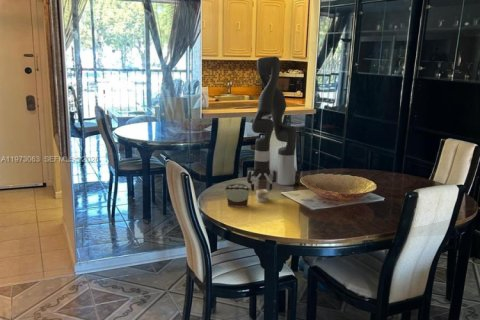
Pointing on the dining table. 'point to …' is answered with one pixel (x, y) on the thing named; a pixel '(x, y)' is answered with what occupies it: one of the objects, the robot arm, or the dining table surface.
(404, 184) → the dining table surface
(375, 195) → the dining table surface
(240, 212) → the dining table surface
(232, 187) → the food container
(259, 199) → the beige cube
